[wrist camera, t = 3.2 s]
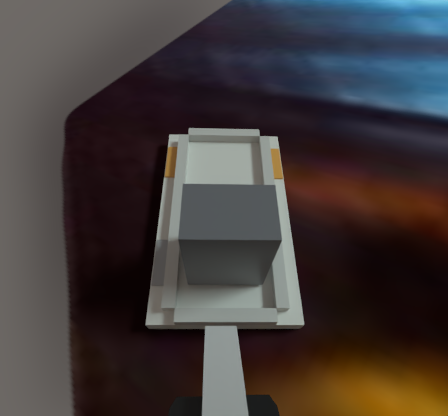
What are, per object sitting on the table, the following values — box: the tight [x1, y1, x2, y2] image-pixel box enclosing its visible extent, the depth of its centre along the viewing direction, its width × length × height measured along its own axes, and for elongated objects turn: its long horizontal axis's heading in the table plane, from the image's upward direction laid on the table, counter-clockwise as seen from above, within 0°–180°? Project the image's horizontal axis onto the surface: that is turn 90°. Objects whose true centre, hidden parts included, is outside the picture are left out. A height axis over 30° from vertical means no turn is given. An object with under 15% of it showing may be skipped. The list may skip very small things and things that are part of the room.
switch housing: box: [146, 128, 304, 329], centre depth 28 cm, size 20×12×2 cm, turn 0°
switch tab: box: [178, 184, 282, 285], centre depth 22 cm, size 4×6×8 cm, turn 91°
